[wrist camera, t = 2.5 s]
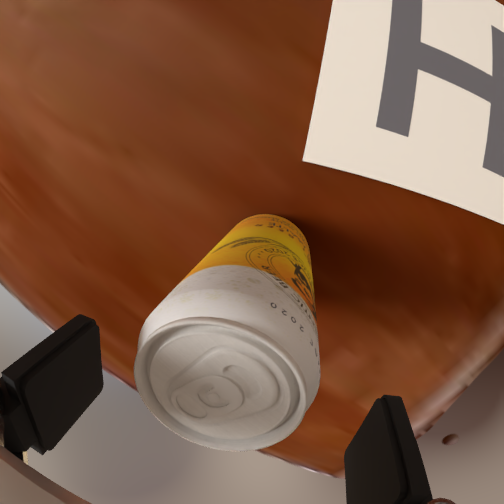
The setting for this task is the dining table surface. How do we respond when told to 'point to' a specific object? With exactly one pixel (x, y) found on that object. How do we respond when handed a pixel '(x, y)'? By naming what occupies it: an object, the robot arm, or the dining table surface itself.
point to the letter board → (415, 98)
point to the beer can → (236, 341)
